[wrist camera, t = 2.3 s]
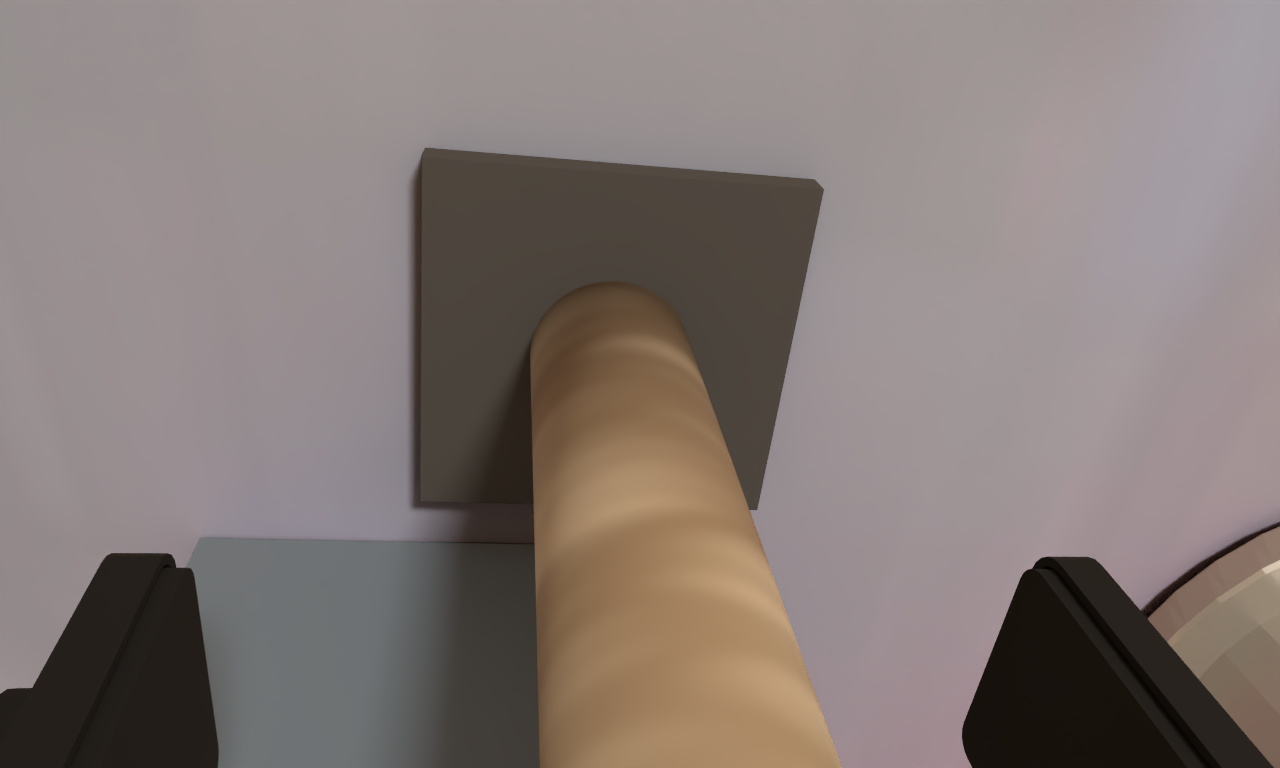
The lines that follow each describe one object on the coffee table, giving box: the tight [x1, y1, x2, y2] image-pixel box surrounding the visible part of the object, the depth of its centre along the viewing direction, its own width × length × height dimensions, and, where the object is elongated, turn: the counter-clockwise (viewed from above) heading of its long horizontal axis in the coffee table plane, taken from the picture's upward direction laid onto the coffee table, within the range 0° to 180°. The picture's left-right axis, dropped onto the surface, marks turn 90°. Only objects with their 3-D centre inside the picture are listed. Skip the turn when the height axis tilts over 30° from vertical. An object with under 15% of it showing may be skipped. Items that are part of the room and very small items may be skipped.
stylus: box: [530, 281, 842, 768], centre depth 12 cm, size 3×3×14 cm
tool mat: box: [420, 148, 824, 510], centre depth 18 cm, size 7×7×1 cm
